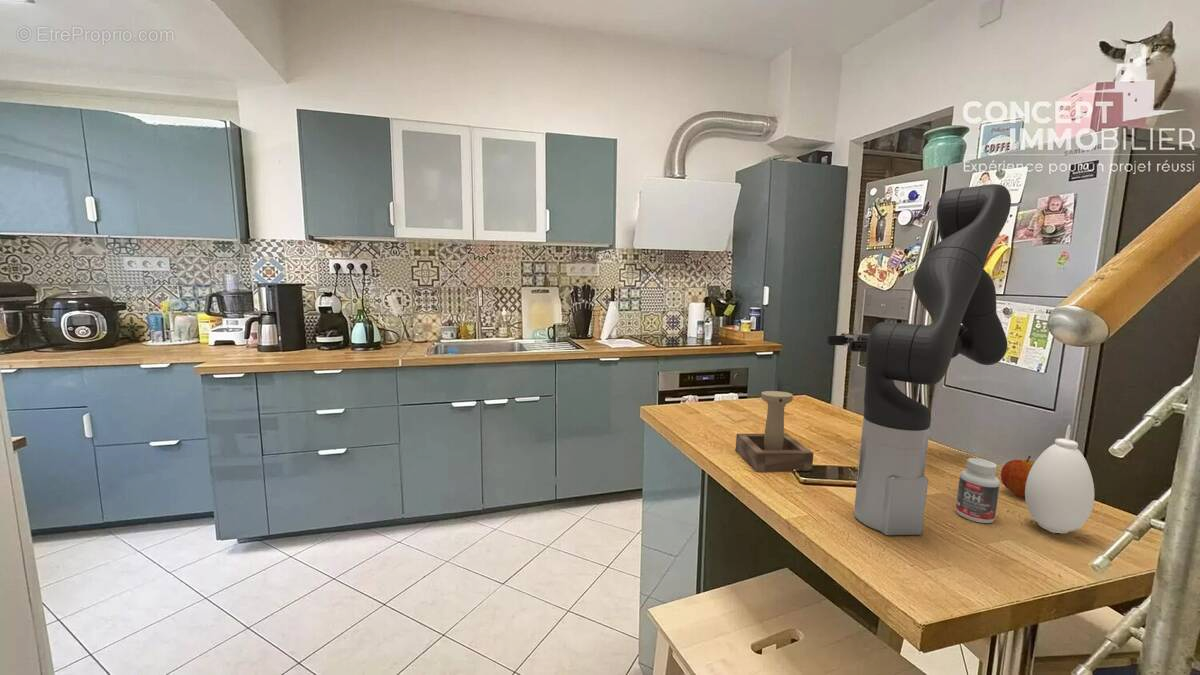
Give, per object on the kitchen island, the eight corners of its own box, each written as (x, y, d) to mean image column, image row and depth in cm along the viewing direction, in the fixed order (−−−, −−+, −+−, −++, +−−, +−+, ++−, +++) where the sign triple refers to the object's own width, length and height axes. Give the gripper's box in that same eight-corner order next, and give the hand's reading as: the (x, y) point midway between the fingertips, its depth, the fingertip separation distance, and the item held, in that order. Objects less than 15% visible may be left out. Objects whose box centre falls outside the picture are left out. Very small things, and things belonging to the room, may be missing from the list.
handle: (791, 464, 102) (796, 397, 100) (761, 464, 102) (765, 396, 100) (782, 456, 107) (787, 391, 105) (754, 455, 107) (758, 390, 105)
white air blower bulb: (1036, 538, 75) (1054, 429, 72) (1010, 515, 82) (1025, 415, 80) (1099, 548, 73) (1119, 435, 70) (1066, 523, 80) (1083, 420, 78)
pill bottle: (959, 519, 80) (967, 464, 79) (951, 505, 85) (958, 454, 84) (999, 527, 78) (1007, 471, 77) (988, 512, 83) (996, 459, 82)
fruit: (1018, 504, 87) (1025, 462, 85) (989, 487, 93) (994, 448, 92) (1058, 505, 86) (1064, 463, 85) (1025, 488, 93) (1031, 449, 92)
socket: (811, 471, 99) (813, 452, 99) (756, 471, 98) (757, 453, 98) (785, 449, 111) (786, 433, 110) (735, 450, 110) (736, 433, 110)
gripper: (888, 323, 112) (822, 322, 111) (935, 330, 98) (859, 330, 97) (885, 354, 113) (819, 354, 112) (930, 366, 99) (856, 366, 98)
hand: (838, 343), depth 104 cm, fingers open, 8 cm apart
